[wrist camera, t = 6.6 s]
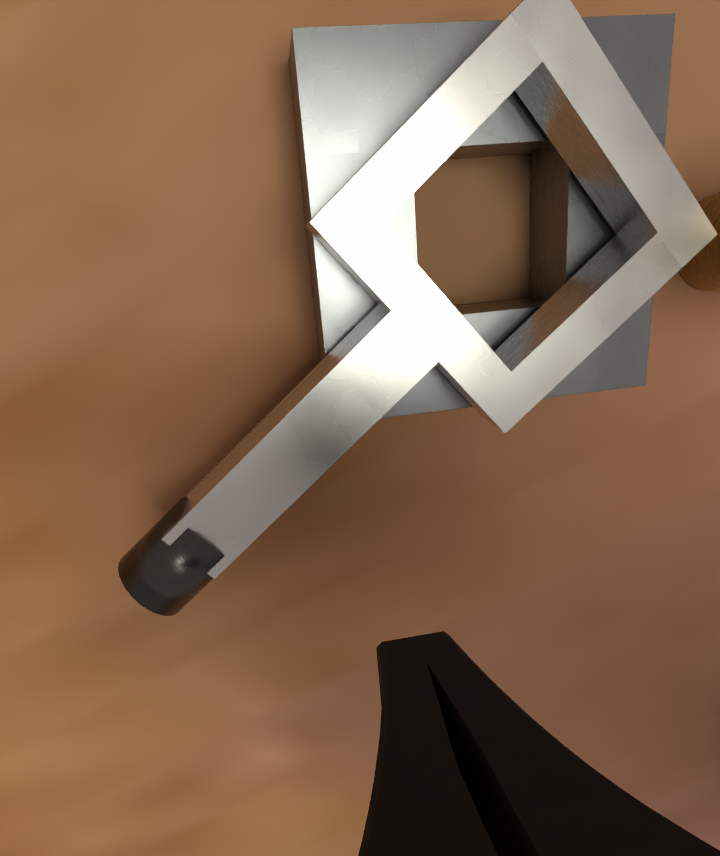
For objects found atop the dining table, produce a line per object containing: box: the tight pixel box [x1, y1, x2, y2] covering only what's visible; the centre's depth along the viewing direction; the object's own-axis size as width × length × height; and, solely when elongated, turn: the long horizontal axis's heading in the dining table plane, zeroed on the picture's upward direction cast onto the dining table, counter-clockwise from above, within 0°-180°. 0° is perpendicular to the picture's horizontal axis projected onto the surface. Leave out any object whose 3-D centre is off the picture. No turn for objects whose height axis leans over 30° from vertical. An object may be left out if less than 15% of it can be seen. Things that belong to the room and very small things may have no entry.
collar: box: [118, 0, 717, 616], centre depth 15 cm, size 17×7×2 cm, turn 134°
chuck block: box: [289, 14, 675, 418], centre depth 17 cm, size 10×10×2 cm
